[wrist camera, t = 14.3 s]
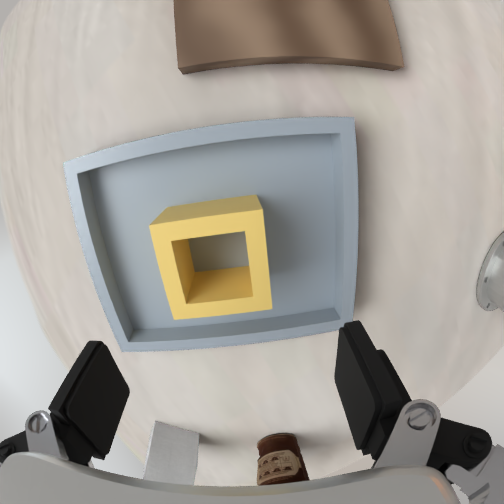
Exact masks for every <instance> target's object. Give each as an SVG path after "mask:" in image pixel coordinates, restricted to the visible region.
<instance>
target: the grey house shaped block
mask: <svg viewBox="0 0 504 504" xmlns="http://www.w3.org/2000/svg"><path fill="white" fill-rule="evenodd" d="M198 446H199V433H197V432H193V431H189V430H185V429H181V428H178V427H174V426H171V425H168V424H164V423H161V422H158V421H155V423H154V425H153V428H152V430H151V434H150V439H149V444H148V449H147V454H146V460H145V468H144V477H143V479H144V480H150V481H156V482H164V483H172V484H182V485H194V480H195V475H196V470H197V463H198Z"/></svg>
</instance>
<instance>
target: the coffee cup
mask: <svg viewBox="0 0 504 504" xmlns="http://www.w3.org/2000/svg"><path fill="white" fill-rule="evenodd" d="M257 444H258V445H257V448H258V450H259V455H260V458H259V459H258V470H257V485H258V486H263V485H275V484H285V483H294V482H301V481H309V477H308V474H307V470H306V467H305V463H304V461H303V457H302V455H301V453H300V448H299V445H298V443H297V439H296V437H295V436H294V435H291V434H276V435H271V436H268V437H265V438H263V439H262V440H260V441H259V442H258V443H257Z"/></svg>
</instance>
